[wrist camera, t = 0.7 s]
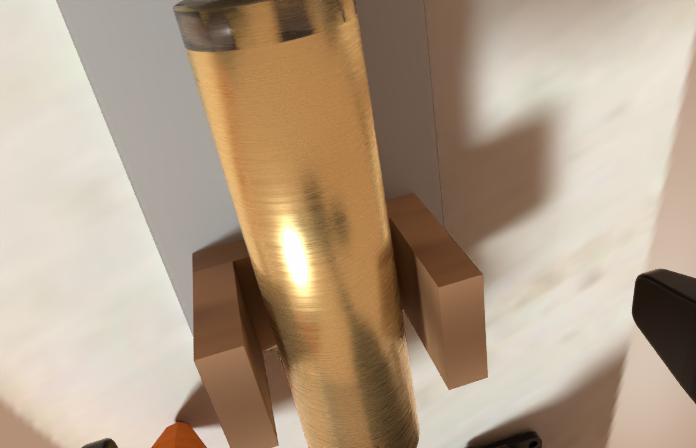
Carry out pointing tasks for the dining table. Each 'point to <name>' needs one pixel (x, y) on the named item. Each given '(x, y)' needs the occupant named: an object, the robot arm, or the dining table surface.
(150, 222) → the board
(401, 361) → the tube
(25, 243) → the dining table surface
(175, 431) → the carrot
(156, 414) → the dining table surface
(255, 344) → the wooden u-shaped cradle
